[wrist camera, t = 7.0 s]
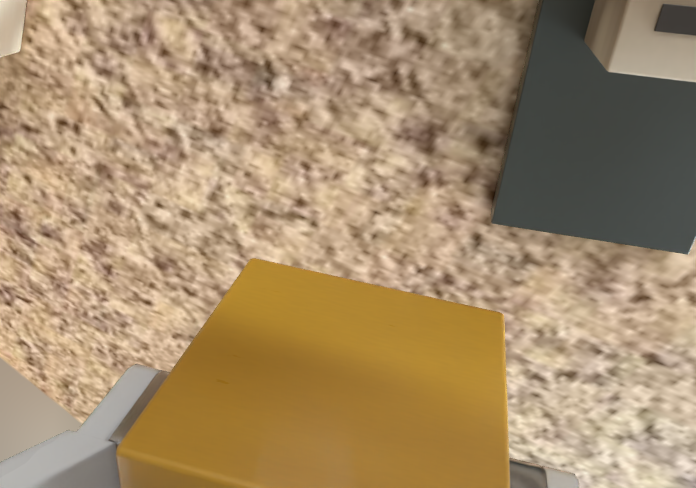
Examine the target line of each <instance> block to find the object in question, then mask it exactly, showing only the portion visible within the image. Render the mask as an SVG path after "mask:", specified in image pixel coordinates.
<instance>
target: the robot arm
mask: <svg viewBox="0 0 696 488" xmlns="http://www.w3.org/2000/svg"><path fill="white" fill-rule="evenodd" d="M169 373H170V372H167V371H163V370H158V369H155V368H151V367H147V366H144V365H140V364H135V365H133V366H131V367H130V368H128V369H127V370H126V371H125V373H124V374H123V375H122V376H121V377H120V379H119V380H118V381H117V382H116V384H115V385H114V386H113V387H112V389H111V390H110V391H109V392H108V393H107V395H106V396H105V397H104V398H103V400H102V401H101V402H100V403H99V405H98V406H97V407H96V408H95V409H94V411H93V412H92V413H91V414H90V416H89V417H88V418H87V419H86V421H85V422H84V423H83V424H82V425H81V427H80V428H79V429H78V430H77V432H74V431H70V430H67V431H65V432H63V433H61V434H59V435H56V436H54V437H52V438H50V439H48V440H46V441H44V442H42V443H40V444H38V445H35V446H34V447H31V448H29V449H27V450H25V451H23V452H21V453H19V454H16V455H15V456H12V457H10V458H8V459H6V460H4V461H2V462H0V488H120V484H119V477H118V469H117V462H116V449H117V447H118V445H119V444H120V443H121V441H122V440H123V438H124V437H125V436H126V434H127V433H128V431H129V430H130V429H131V427H132V426H133V424H134V423H135V421H136V420H137V419H138V417H139V416H140V414H141V413H142V412H143V410H144V409H145V407H146V406H147V405H148V403H149V402H150V400H151V399H152V397H153V396H154V395H155V393H156V392H157V390H158V389H159V388H160V386H161V385H162V383H163V382H164V381H165V379H166V378H167V376H168V375H169ZM509 467H510V488H579V482H578V479H577V477H576V476H575V474H573V473H569V472H565V471H561V470H557V469H553V468H549V467H545V466H542V467H541V466H540V465H538V464H533V463H529V462H525V461H521V460H517V459H513V458H509Z"/></svg>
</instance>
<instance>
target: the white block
mask: <svg viewBox="0 0 696 488" xmlns="http://www.w3.org/2000/svg"><path fill="white" fill-rule="evenodd" d="M26 5H27V0H0V58H1V57H4V56H7V55H11V54H14V53H17V52H19V51H20V48H21V41H22V34H23V26H24V19H25V12H26Z"/></svg>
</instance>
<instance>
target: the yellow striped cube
mask: <svg viewBox="0 0 696 488" xmlns="http://www.w3.org/2000/svg"><path fill="white" fill-rule="evenodd" d="M116 462H117V469H118V477H119V484H120V488H510V467H509V439H508V411H507V383H506V354H505V326H504V315H503V314H502V313H500V312H496V311H491V310H487V309H482V308H478V307H473V306H468V305H464V304H459V303H455V302H450V301H446V300H441V299H437V298H432V297H428V296H423V295H419V294H414V293H410V292H405V291H401V290H396V289H392V288H387V287H383V286H378V285H373V284H369V283H364V282H360V281H355V280H351V279H346V278H342V277H337V276H333V275H328V274H324V273H319V272H315V271H310V270H306V269H301V268H297V267H292V266H288V265H283V264H279V263H274V262H269V261H265V260H260V259H256V258H253V259H250V260H249V262H248V263H247V265H246V266H245V268H244V269H243V270H242V272H241V273H240V275H239V276H238V277H237V279H236V280H235V282H234V283H233V284H232V286H231V287H230V289H229V290H228V292H227V293H226V294H225V296H224V297H223V299H222V300H221V301H220V303H219V304H218V306H217V307H216V308H215V310H214V311H213V313H212V314H211V316H210V317H209V318H208V320H207V321H206V323H205V324H204V325H203V327H202V328H201V330H200V331H199V332H198V334H197V335H196V337H195V338H194V340H193V341H192V342H191V344H190V345H189V347H188V348H187V349H186V351H185V352H184V354H183V355H182V356H181V358H180V359H179V361H178V362H177V364H176V365H175V366H174V368H173V369H172V371H171V372H170V373H169V375H168V376H167V378H166V379H165V381H164V382H163V383H162V385H161V386H160V388H159V389H158V390H157V392H156V393H155V395H154V396H153V397H152V399H151V400H150V402H149V403H148V405H147V406H146V407H145V409H144V410H143V412H142V413H141V414H140V416H139V417H138V419H137V420H136V421H135V423H134V424H133V426H132V427H131V429H130V430H129V431H128V433H127V434H126V436H125V437H124V438H123V440H122V441H121V443H120V444H119V445H118V447H117V449H116Z"/></svg>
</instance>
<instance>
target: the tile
mask: <svg viewBox="0 0 696 488" xmlns="http://www.w3.org/2000/svg"><path fill="white" fill-rule="evenodd" d="M584 42H585V43H586V44H587V46H588V47H589V48H590V50H591V51H592V52H593V54H594V55H595V56H596V57H597V59H598V60H599V61H600V63H601V64H602V65H603V66H604V68H605V69H606V70H607V71H608V72H613V73H621V74H630V75H638V76H647V77H655V78H663V79H672V80H680V81H688V82H696V0H595V3H594V6H593V10H592V13H591V17H590V21H589V24H588V28H587V32H586V35H585V39H584Z"/></svg>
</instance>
